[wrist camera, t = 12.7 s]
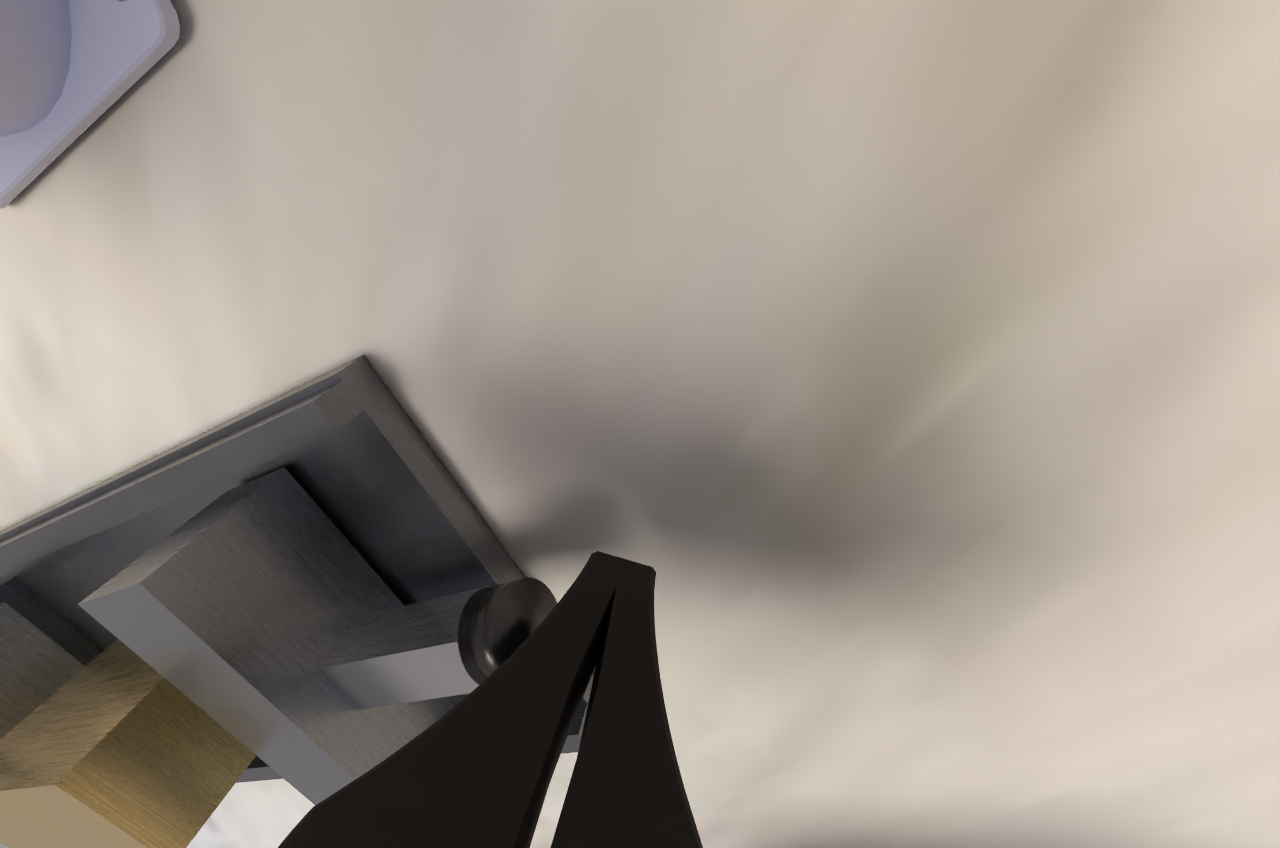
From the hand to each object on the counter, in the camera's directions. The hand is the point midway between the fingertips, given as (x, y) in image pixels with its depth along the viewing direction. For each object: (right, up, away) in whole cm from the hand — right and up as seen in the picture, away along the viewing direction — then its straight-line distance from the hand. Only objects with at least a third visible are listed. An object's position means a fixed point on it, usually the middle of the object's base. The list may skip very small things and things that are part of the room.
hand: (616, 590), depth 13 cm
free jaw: (-5, -1, +4) cm, 6 cm away
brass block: (-14, -4, +7) cm, 16 cm away
